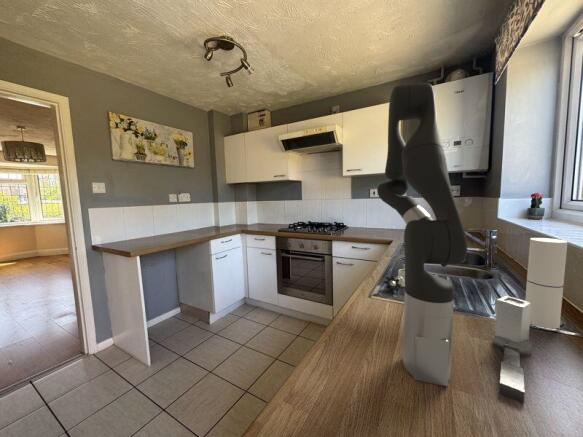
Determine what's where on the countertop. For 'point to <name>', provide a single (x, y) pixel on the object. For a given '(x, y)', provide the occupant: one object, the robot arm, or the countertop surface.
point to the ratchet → (512, 367)
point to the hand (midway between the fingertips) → (455, 263)
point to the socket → (513, 319)
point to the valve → (396, 280)
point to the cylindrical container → (546, 281)
